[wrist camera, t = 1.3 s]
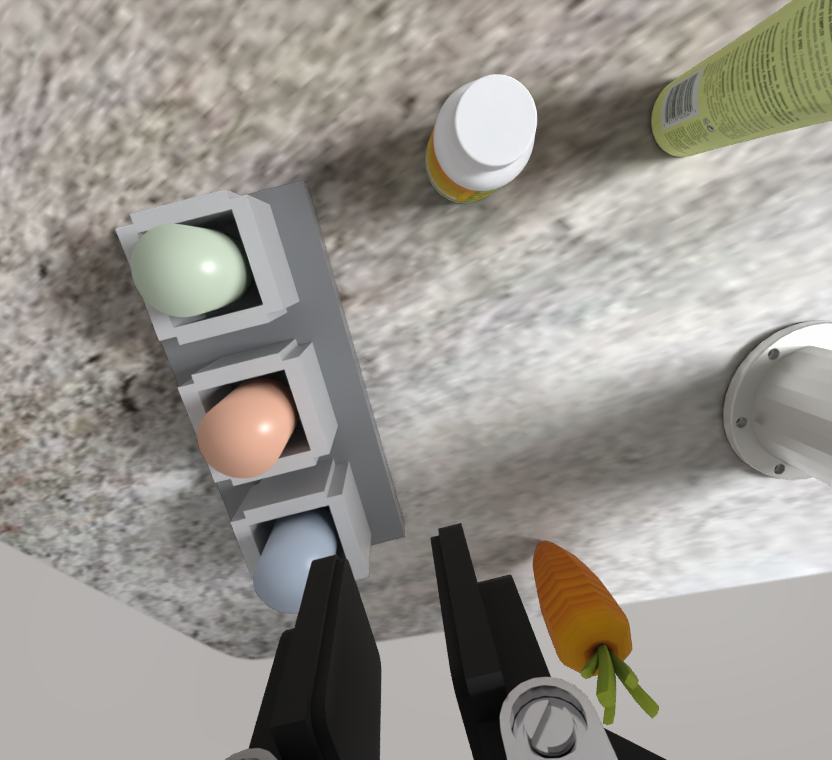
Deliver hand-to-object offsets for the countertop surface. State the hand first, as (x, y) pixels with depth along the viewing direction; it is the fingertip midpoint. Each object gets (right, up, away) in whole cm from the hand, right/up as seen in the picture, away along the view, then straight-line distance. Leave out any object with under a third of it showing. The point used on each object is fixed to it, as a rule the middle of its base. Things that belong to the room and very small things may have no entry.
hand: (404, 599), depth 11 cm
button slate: (-7, -6, +22) cm, 24 cm away
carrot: (+11, -9, +29) cm, 32 cm away
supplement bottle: (+3, +19, +21) cm, 29 cm away
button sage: (-11, +11, +17) cm, 24 cm away
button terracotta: (-9, +3, +20) cm, 22 cm away
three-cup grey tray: (-10, +4, +24) cm, 27 cm away
